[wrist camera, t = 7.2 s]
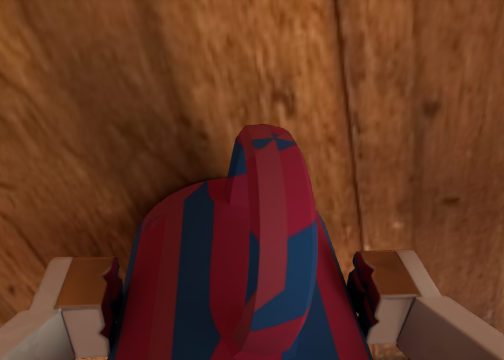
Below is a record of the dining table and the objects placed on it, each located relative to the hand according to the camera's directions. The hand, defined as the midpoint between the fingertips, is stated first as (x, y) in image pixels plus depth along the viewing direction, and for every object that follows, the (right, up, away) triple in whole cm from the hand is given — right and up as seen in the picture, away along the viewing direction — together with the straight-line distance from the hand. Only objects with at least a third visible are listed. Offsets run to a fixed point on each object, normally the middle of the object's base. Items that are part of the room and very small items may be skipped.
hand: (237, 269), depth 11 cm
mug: (0, +1, +3) cm, 3 cm away
